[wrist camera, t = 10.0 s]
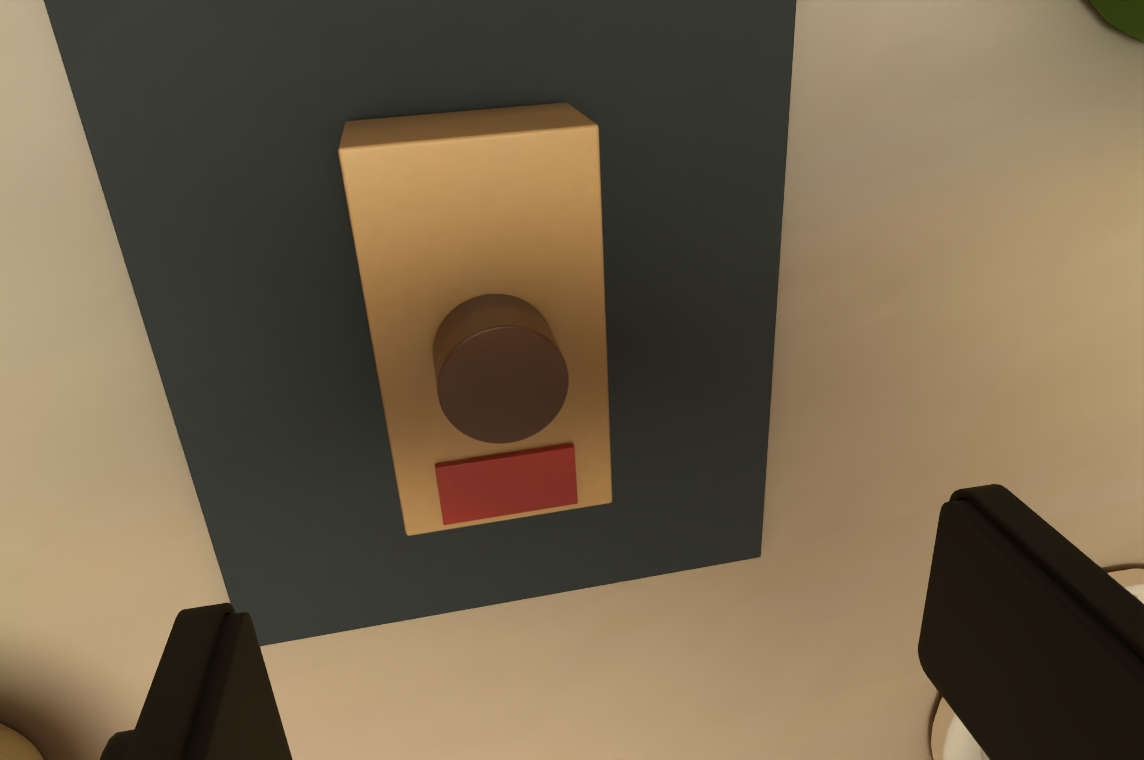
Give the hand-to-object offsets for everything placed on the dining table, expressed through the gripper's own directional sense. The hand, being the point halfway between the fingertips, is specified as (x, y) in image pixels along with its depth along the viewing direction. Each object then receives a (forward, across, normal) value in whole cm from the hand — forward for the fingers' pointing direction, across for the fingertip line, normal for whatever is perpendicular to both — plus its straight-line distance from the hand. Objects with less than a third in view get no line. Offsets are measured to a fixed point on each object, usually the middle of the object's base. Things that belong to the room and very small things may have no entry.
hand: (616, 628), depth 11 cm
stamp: (+12, +1, -1) cm, 12 cm away
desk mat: (+12, +1, -1) cm, 12 cm away
